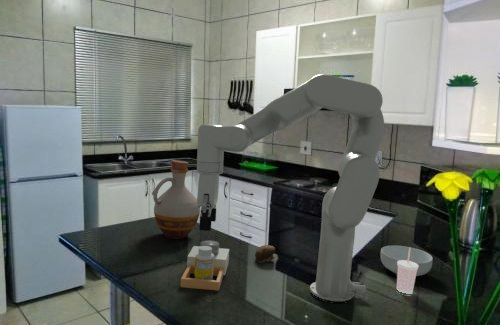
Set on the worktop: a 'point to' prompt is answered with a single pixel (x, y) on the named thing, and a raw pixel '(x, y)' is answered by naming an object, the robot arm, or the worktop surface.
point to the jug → (176, 204)
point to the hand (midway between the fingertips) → (207, 225)
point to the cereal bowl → (405, 258)
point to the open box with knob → (219, 270)
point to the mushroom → (265, 253)
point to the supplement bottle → (204, 263)
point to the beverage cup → (406, 275)
